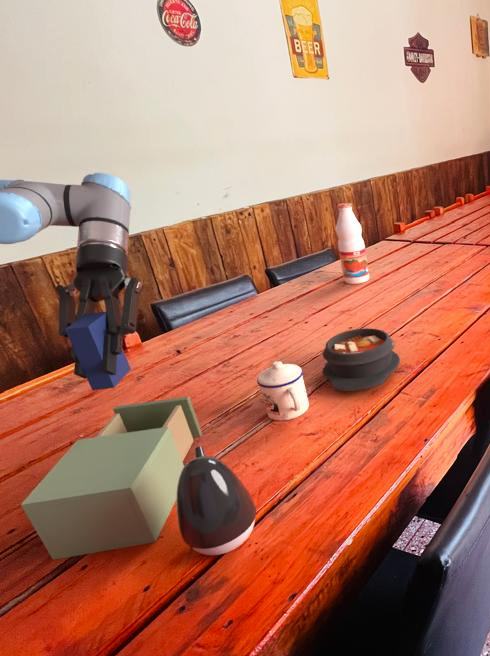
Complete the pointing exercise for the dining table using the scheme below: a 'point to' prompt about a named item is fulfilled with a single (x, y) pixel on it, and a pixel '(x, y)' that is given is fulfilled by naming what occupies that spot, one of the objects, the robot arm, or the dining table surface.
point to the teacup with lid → (283, 391)
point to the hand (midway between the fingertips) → (95, 374)
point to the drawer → (157, 420)
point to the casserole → (359, 359)
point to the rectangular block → (95, 350)
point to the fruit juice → (351, 246)
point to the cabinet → (107, 493)
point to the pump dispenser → (213, 506)
